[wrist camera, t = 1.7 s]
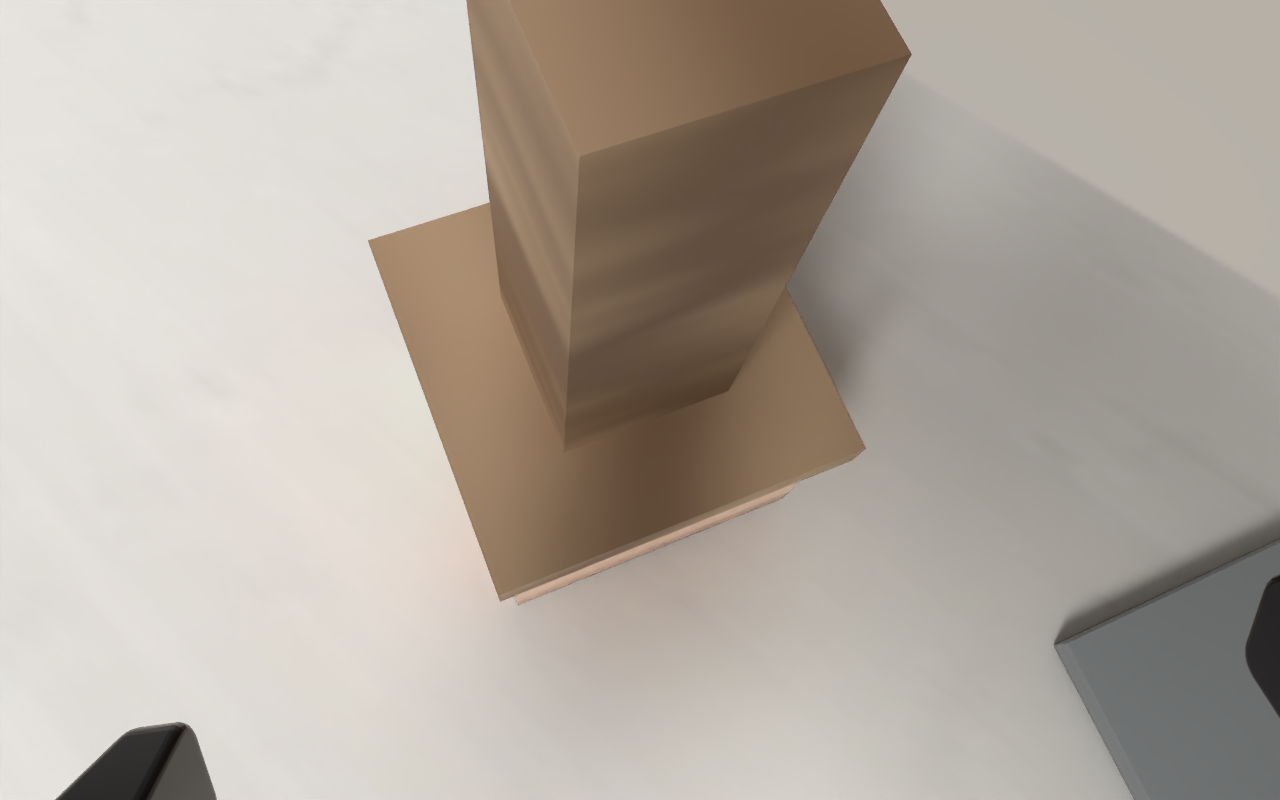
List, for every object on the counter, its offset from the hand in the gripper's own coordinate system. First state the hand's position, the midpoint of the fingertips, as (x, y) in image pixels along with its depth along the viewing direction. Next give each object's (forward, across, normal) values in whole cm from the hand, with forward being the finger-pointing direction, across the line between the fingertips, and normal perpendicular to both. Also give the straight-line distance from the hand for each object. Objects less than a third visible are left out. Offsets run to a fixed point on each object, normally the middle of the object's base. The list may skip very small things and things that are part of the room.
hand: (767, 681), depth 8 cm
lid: (+11, 0, +2) cm, 11 cm away
